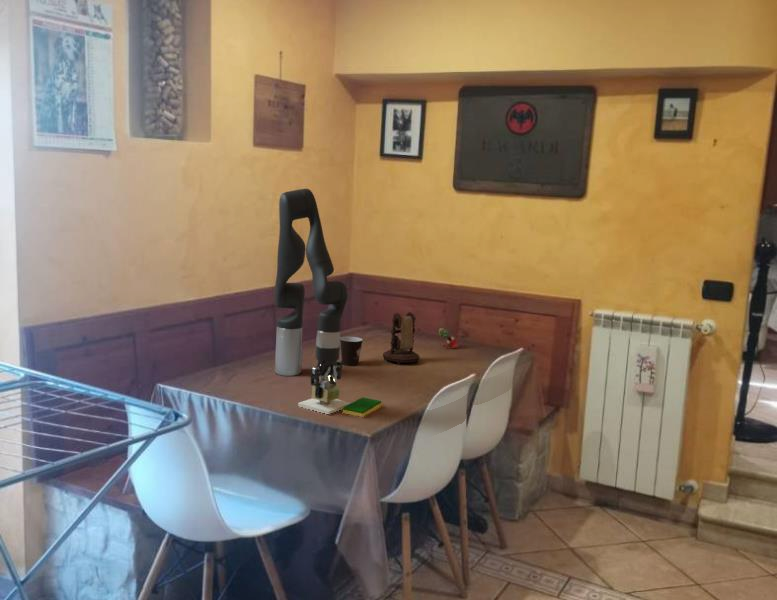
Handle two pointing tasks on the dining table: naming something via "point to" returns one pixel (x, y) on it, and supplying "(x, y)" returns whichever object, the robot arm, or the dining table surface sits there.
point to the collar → (327, 393)
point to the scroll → (402, 340)
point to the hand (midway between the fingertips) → (325, 395)
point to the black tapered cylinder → (350, 350)
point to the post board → (324, 403)
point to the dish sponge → (362, 406)
